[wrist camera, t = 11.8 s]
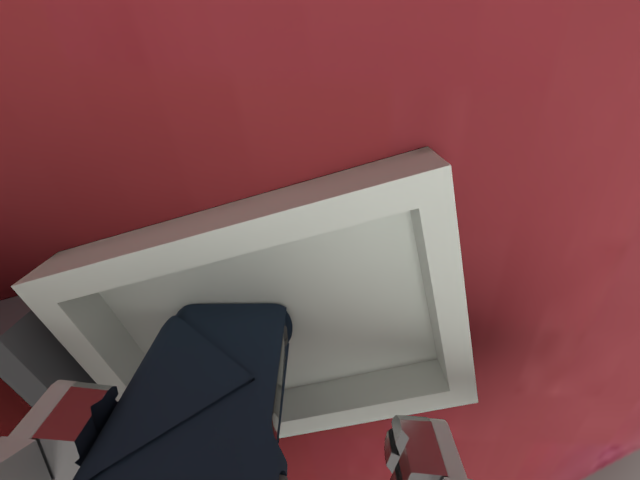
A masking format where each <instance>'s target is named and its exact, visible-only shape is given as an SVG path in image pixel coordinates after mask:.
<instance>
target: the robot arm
mask: <svg viewBox="0 0 640 480" xmlns="http://www.w3.org/2000/svg"><path fill="white" fill-rule="evenodd" d="M117 396H118V390H117V386H110V385H102V384H93V383H85V382H78V381H68V380H57V381H56V382H55V383H53V384H52V385H51V386H50V387H49V388H48V389H47V390H46V392H45V393H44V394H43V395H42V396H41V398H40V399H39V400H38V401H37V402H36V404H35V405H34V406H33V407H32V408H31V409H30V411H29V412H28V413H27V414H26V415H25V417H24V418H23V419H22V420H21V421H20V423H19V424H18V425H17V426H16V427H15V429H14V430H13V431H12V432H11V433H10V434H9V436H8V437H5V436H1V437H0V480H73V478H74V476H75V474H76V473H77V471H78V469H79V468H80V466H81V465H82V463H83V461H84V459H85V458H86V456H87V454H88V453H89V451H90V449H91V447H92V446H93V444H94V442H95V441H96V439H97V437H98V435H99V434H100V432H101V430H102V428H103V427H104V425H105V424H106V422H107V420H108V418H109V417H110V415H111V413H112V412H113V410H114V408H115V406H116V405H117V403H118V402H117V401H116V400H115V399H116V397H117ZM392 427H393V428H392V429H390V430H389V431H388V432H387V435H386V438H385V446H384V450H385V460H386V466H387V467H388V468H389V470H390V471H391V472H392V476H391V478H390V480H472V479H468V478H467V476H466V473H465V470H464V467H463V464H462V462H461V459H460V456H459V453H458V450H457V448H456V445H455V442H454V439H453V436H452V434H451V431H450V428H449V425H448V423H447V422H446V421H445V420H443V419H433V418H427V417H416V416H405V415H395V416H394V417H393V419H392Z"/></svg>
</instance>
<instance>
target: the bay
mask: <svg viewBox="0 0 640 480" xmlns="http://www.w3.org/2000/svg"><path fill="white" fill-rule="evenodd" d="M0 378H1V379H2V380H4V381H5V382H6V383H7V384H8V385H9V386H10V387H11V388H12V389H13V390H14V391H15V392H16V393H17V394H19V395H20V396H21V397H22V398H23V399H24V400H25V401H26V402H27V403H28V404H29V405H30V406H31V407H33V406H34V405H35V404H36V402H37V401H38V400H39V399H40V398H41V396H42V395H43V394H44V393H45V392H46V390H47V389H48V388H49V387H50V386H51V385H52V384H53V383H55V382H56V381H57V380H68V381H78V382H85V383H93V384H97V383H96V382H95V381H94V380H93V379H92V378H91V377H90V376H89V374H88V373H87V372H86V371H85V370H84V369H83V368H82V367H81V365H80V364H79V363H78V362H77V361H76V360H75V359H74V357H73V356H72V355H71V354H70V353H69V352H68V351H67V350H66V348H65V347H64V346H63V345H62V344H61V343H60V342H59V341H58V339H57V338H56V337H55V336H54V335H53V334H52V333H51V331H50V330H49V329H48V328H47V327H46V326H45V325H44V324H43V322H42V321H41V320H40V319H39V318H38V317H37V316H36V315H35V313H34V312H33V311H32V310H31V309H30V308H29V307H28V306H27V304H26V303H25V302H24V301H23V300H22V299H21V298H20V296H15V297H12V298H8V299H4V300H1V301H0Z"/></svg>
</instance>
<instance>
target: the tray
mask: <svg viewBox="0 0 640 480" xmlns="http://www.w3.org/2000/svg"><path fill="white" fill-rule="evenodd" d="M11 287H12V289H13V290H14V291H15V292H16V293H17V294H18V295H19V296H20V298H21V299H22V300H23V301H24V302H25V303H26V304H27V306H28V307H29V308H30V309H31V310H32V311H33V312H34V313H35V315H36V316H37V317H38V318H39V319H40V320H41V321H42V322H43V324H44V325H45V326H46V327H47V328H48V329H49V330H50V331H51V333H52V334H53V335H54V336H55V337H56V338H57V339H58V341H59V342H60V343H61V344H62V345H63V346H64V347H65V348H66V350H67V351H68V352H69V353H70V354H71V355H72V356H73V357H74V359H75V360H76V361H77V362H78V363H79V364H80V365H81V367H82V368H83V369H84V370H85V371H86V372H87V373H88V374H89V376H90V377H91V378H92V379H93V380H94V381H95V382H96V383H97V384H102V385H110V386H117V390H118V396H117V397H116V399H115V400H116V401H117V402H118V401H119V399H120V398H121V396H122V394H123V393H124V391H125V389H126V387H127V386H128V384H129V382H130V381H131V379H132V377H133V376H134V374H135V372H136V370H137V369H138V367H139V365H140V364H141V362H142V360H143V359H144V357H145V355H146V353H147V352H148V350H149V348H150V347H151V345H152V343H153V341H154V340H155V338H156V336H157V335H158V333H159V331H160V330H161V328H162V326H163V325H164V324H165V323H166V321H167V320H168V319H169V318H170V317H172V316H175V315H176V314H177V312H178V311H179V310H180V309H181V308H182V307H184V306H186V305H190V304H261V303H273V304H279V305H282V306H285V307H286V308H287V309H286V311H287V312H288V314H289V316H290V318H291V321H292V326H293V327H292V336H291V339H290V341H289V342H288V343H289V351H288V360H287V369H286V378H285V388H284V397H283V406H282V415H281V424H280V433H279V438H284V437H289V436H295V435H300V434H306V433H311V432H317V431H323V430H328V429H334V428H339V427H345V426H350V425H356V424H362V423H367V422H373V421H378V420H384V419H389V418H393V417H394V416H395V415H405V416H406V415H412V414H417V413H423V412H428V411H434V410H439V409H445V408H450V407H456V406H462V405H467V404H473V403H478V396H477V388H476V379H475V370H474V362H473V353H472V344H471V336H470V327H469V318H468V309H467V301H466V292H465V283H464V275H463V266H462V257H461V249H460V240H459V231H458V222H457V214H456V205H455V196H454V188H453V179H452V170H451V165H450V164H449V163H448V162H447V161H445V160H444V159H443V158H442V157H440V156H439V155H438V154H437V153H435V152H434V151H433V150H432V149H430V148H429V147H428V146H427V147H424V148H420V149H417V150H413V151H410V152H406V153H403V154H399V155H396V156H392V157H389V158H385V159H382V160H378V161H375V162H371V163H368V164H364V165H361V166H357V167H354V168H350V169H347V170H343V171H340V172H336V173H333V174H329V175H326V176H322V177H319V178H315V179H312V180H308V181H305V182H301V183H298V184H294V185H291V186H287V187H284V188H280V189H277V190H273V191H270V192H266V193H263V194H259V195H256V196H252V197H249V198H245V199H242V200H238V201H235V202H231V203H228V204H224V205H221V206H217V207H214V208H210V209H207V210H203V211H200V212H196V213H193V214H189V215H186V216H182V217H179V218H175V219H172V220H168V221H165V222H161V223H158V224H154V225H151V226H147V227H144V228H140V229H137V230H133V231H130V232H126V233H123V234H119V235H116V236H112V237H109V238H106V239H102V240H99V241H95V242H92V243H88V244H85V245H81V246H78V247H74V248H71V249H67V250H64V251H60V252H57V253H56V254H55V255H53V256H52V257H50V258H49V259H48V260H46V261H45V262H44V263H42V264H41V265H39V266H38V267H37V268H35V269H34V270H32V271H31V272H30V273H28V274H27V275H26V276H24V277H23V278H21V279H20V280H19V281H17V282H16V283H15V284H13V285H12V286H11Z"/></svg>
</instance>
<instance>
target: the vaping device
mask: <svg viewBox="0 0 640 480" xmlns="http://www.w3.org/2000/svg"><path fill="white" fill-rule="evenodd" d="M286 309H287V308H286V307H285V306H282V305H279V304H273V303H261V304H190V305H186V306H184V307H182V308H181V309H180V310H179V311H178V312H177V314H176V315H175V316H172V317H170V318H169V319H168V320H167V321H166V323H165V324H164V325H163V326H162V328H161V330H160V331H159V333H158V335H157V336H156V338H155V340H154V341H153V343H152V345H151V347H150V348H149V350H148V352H147V353H146V355H145V357H144V359H143V360H142V362H141V364H140V365H139V367H138V369H137V370H136V372H135V374H134V376H133V377H132V379H131V381H130V382H129V384H128V386H127V387H126V389H125V391H124V393H123V394H122V396H121V398H120V399H119V401H118V403H117V405H116V406H115V408H114V410H113V412H112V413H111V415H110V417H109V418H108V420H107V422H106V424H105V425H104V427H103V428H102V430H101V432H100V434H99V435H98V437H97V439H96V441H95V442H94V444H93V446H92V447H91V449H90V451H89V453H88V454H87V456H86V458H85V459H84V461H83V463H82V465H81V466H80V468H79V469H78V471H77V473H76V474H75V476H74V478H73V480H287V461H286V459H285V457H284V455H283V453H282V451H281V449H280V447H279V445H278V443H279V433H280V424H281V415H282V406H283V397H284V388H285V378H286V369H287V360H288V351H289V343H288V342H289V341H290V339H291V336H292V327H293V326H292V321H291V318H290V316H289V314H288V312H287V311H286Z"/></svg>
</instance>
